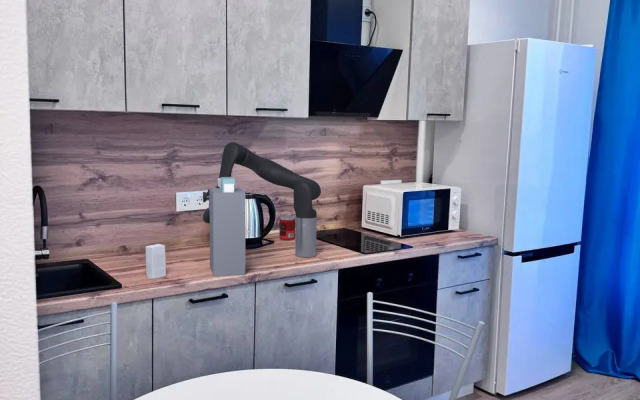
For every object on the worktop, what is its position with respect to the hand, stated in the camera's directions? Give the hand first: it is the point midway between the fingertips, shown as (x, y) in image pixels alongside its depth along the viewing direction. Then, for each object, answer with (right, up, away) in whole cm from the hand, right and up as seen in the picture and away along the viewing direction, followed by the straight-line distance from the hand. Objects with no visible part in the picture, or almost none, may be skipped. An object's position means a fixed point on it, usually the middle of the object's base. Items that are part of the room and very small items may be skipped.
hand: (221, 189), depth 250 cm
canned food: (+25, -24, +49) cm, 60 cm away
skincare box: (-20, -33, -24) cm, 46 cm away
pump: (+4, 0, -14) cm, 14 cm away
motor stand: (+5, -32, -14) cm, 36 cm away
